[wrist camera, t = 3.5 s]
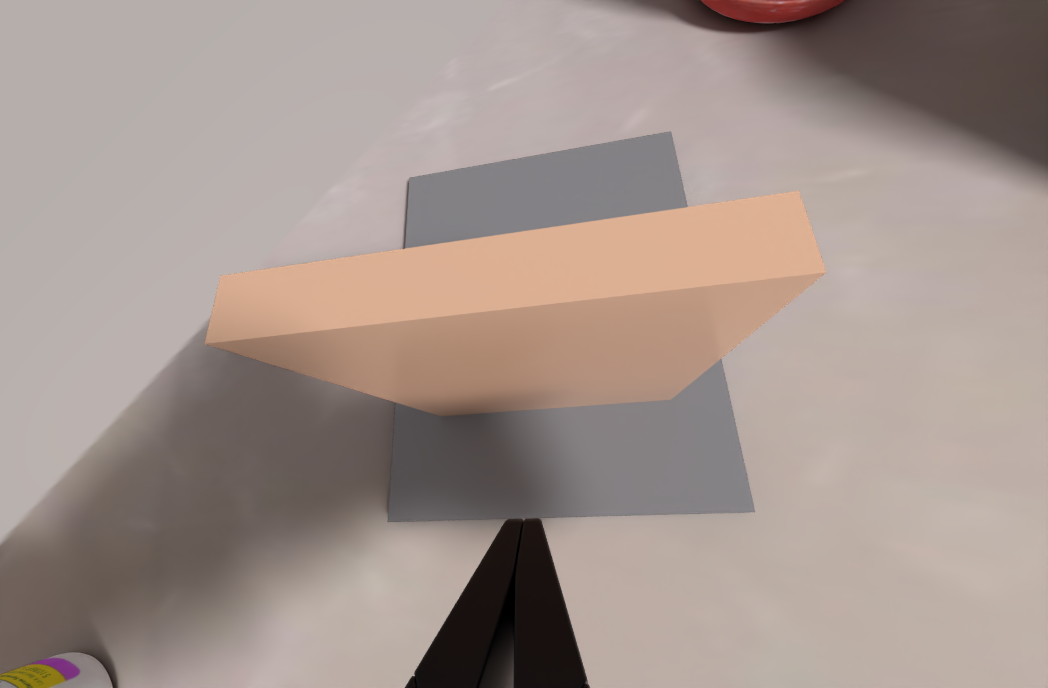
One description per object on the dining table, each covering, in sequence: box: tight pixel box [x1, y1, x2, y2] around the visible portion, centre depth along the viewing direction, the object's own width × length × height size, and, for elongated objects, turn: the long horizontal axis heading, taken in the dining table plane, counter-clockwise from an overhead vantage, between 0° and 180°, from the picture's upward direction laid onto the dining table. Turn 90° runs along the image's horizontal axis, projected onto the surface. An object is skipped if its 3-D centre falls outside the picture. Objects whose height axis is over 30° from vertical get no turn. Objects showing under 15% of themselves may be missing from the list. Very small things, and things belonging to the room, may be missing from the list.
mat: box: [388, 131, 755, 522], centre depth 20 cm, size 20×16×1 cm
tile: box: [205, 191, 826, 416], centre depth 12 cm, size 2×11×12 cm, turn 93°
